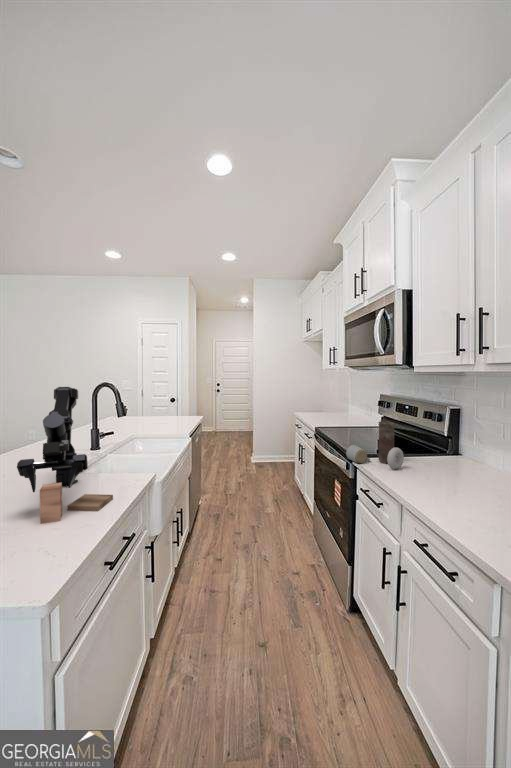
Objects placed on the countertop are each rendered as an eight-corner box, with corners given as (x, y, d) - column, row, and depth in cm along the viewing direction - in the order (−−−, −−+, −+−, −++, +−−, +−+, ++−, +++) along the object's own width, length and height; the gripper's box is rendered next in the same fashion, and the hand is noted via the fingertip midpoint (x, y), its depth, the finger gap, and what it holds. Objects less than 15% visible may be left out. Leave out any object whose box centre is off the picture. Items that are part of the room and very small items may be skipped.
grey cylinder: (355, 464, 158) (356, 448, 158) (345, 460, 166) (346, 445, 166) (373, 463, 162) (374, 447, 161) (363, 459, 169) (363, 444, 169)
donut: (398, 466, 156) (398, 445, 155) (405, 468, 153) (405, 446, 152) (385, 469, 150) (385, 448, 150) (392, 471, 147) (392, 449, 147)
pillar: (43, 517, 100) (42, 484, 100) (62, 514, 102) (61, 482, 102) (40, 523, 96) (39, 489, 95) (60, 520, 98) (59, 487, 97)
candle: (375, 460, 167) (376, 420, 166) (389, 459, 167) (390, 420, 167) (382, 464, 159) (383, 423, 158) (397, 464, 160) (397, 422, 159)
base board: (84, 498, 115) (84, 494, 115) (112, 499, 115) (112, 494, 114) (67, 510, 105) (67, 505, 105) (97, 511, 105) (97, 506, 104)
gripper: (17, 433, 100) (8, 480, 90) (86, 429, 108) (84, 472, 98) (24, 453, 108) (16, 498, 98) (88, 448, 115) (86, 490, 105)
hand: (51, 489), depth 100 cm, fingers open, 9 cm apart
